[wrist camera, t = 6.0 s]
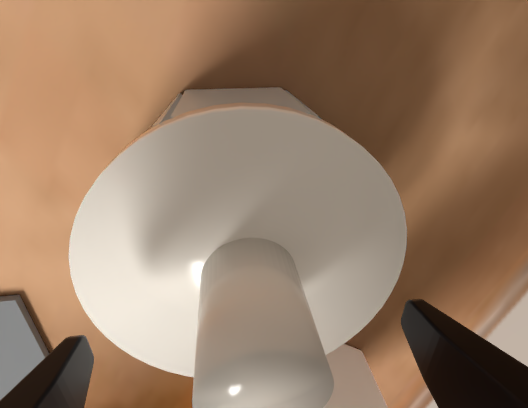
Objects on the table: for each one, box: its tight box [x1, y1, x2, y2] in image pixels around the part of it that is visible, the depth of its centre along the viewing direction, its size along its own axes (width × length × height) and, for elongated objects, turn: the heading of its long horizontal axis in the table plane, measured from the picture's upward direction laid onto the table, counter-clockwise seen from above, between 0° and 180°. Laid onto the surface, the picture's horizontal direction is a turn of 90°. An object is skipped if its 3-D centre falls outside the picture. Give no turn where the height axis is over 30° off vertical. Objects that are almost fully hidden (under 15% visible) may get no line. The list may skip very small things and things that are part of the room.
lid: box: [69, 103, 407, 408], centre depth 9 cm, size 11×11×5 cm
